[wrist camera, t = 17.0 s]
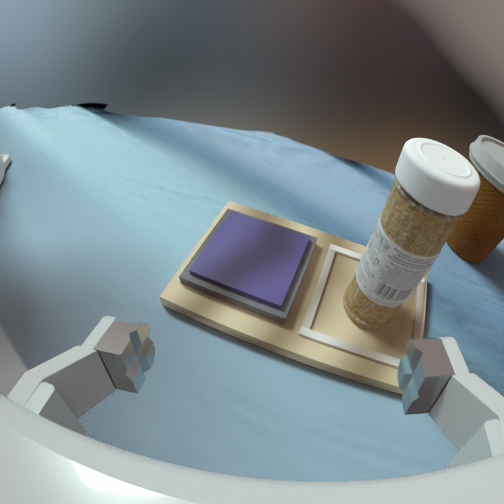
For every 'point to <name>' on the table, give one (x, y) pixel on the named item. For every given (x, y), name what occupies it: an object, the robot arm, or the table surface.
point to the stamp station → (290, 296)
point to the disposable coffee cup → (482, 204)
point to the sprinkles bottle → (410, 229)
